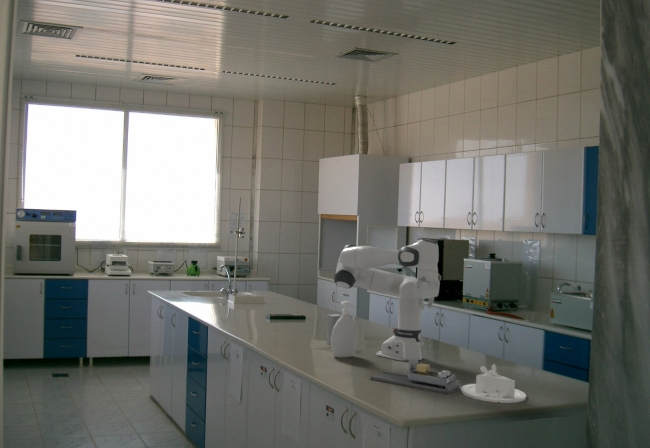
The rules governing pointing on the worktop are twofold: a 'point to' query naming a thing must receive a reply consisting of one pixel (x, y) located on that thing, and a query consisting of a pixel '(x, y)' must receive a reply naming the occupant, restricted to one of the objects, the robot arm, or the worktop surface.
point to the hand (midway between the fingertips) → (425, 308)
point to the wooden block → (423, 369)
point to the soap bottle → (344, 335)
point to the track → (404, 380)
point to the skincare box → (331, 325)
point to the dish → (493, 388)
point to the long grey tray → (427, 379)
